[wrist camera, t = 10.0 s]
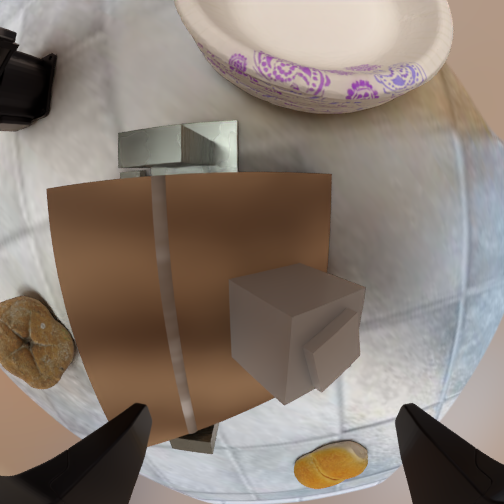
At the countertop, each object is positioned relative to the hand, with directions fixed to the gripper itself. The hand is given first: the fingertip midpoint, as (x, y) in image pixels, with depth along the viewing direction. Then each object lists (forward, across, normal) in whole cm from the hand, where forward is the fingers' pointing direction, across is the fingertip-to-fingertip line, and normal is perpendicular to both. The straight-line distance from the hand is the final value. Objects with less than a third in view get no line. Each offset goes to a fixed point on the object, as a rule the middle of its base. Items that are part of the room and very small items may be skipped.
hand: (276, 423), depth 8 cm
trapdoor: (+12, +6, 0) cm, 13 cm away
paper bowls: (+13, -3, -19) cm, 23 cm away
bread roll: (+13, -8, +24) cm, 28 cm away
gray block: (+9, 0, 0) cm, 9 cm away
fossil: (+13, +24, +7) cm, 28 cm away
